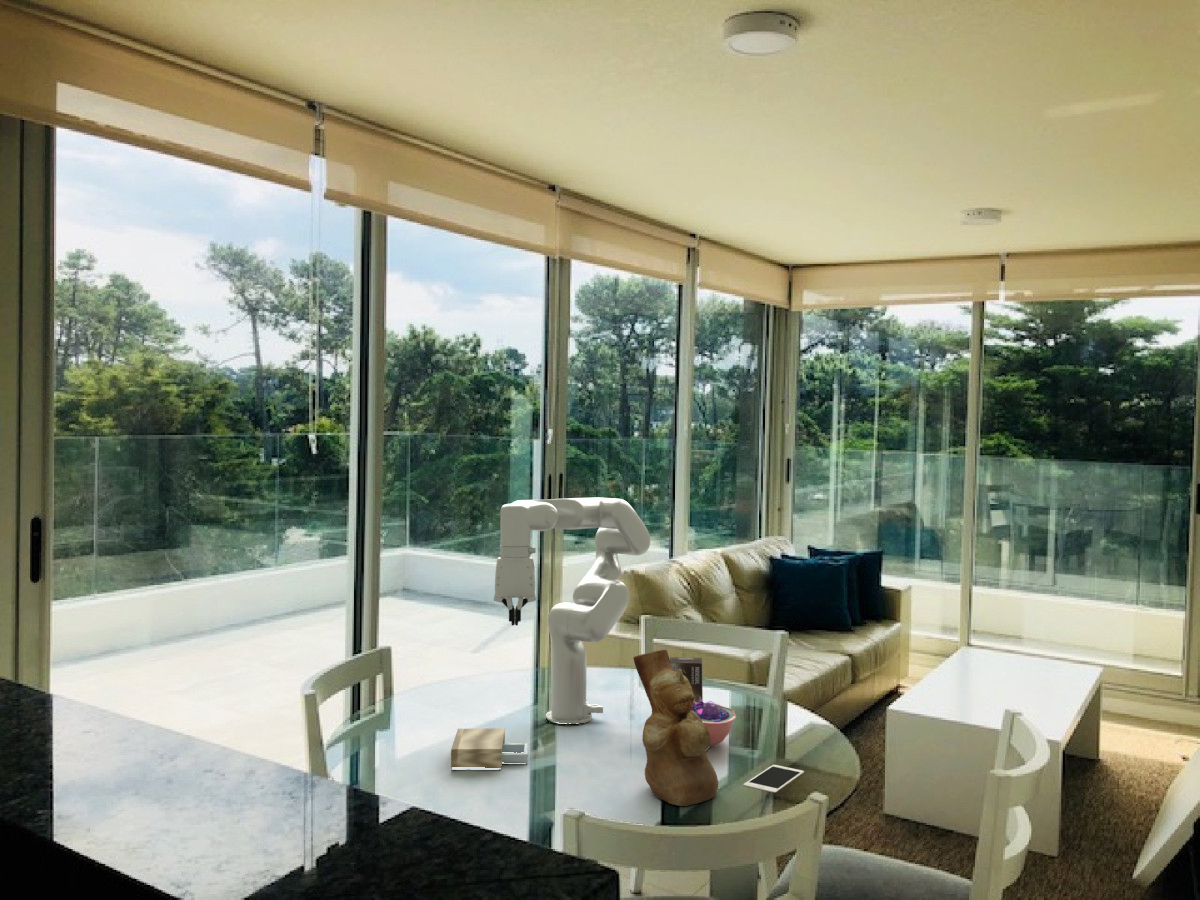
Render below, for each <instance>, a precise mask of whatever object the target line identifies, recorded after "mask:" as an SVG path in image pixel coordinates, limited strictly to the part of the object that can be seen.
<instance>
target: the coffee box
mask: <svg viewBox="0 0 1200 900" xmlns="http://www.w3.org/2000/svg"><path fill="white" fill-rule="evenodd" d="M669 659H670V663H671V665H672V668H673V670H674V671H675V672H677V670H678V669H681V670H682V672H683V675H684V676H685V677H686V678H687V679H688V681H689V683H690V685H691V687H692V691H693V694H694V701H693V702H696V703H698V702H699V700H701V701H702V702H704V700H703V698H704V696H703V691H704V690H703V658H702V657H680V656H679V657H678V656H677V657H675V656H674V657H671V656H669Z"/></svg>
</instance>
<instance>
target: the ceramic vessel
mask: <svg viewBox="0 0 1200 900" xmlns="http://www.w3.org/2000/svg"><path fill="white" fill-rule="evenodd" d="M632 659H633V662H634V666H635V669H636V672H637V674H638V676H639V677H638V678H639V679H640V681H641V684H642V686H643V689H644V691H645V694H646V698H647V699H648V701H649V704H650V707H651V714H650V716H649V717H647V719H646V721H645V722H644V724H643V725H644V726H643V730H642V735H641V736H642V737H641V738H642V743H643V744H642V745H643V747H644V748H645V752H646V763H645V768H644V779H645V781H646V783H647V784H648V786H649V788H650V789H651V791H652V794H653V795H654V797H657V798H658V799H660V800H662V801H665V802H666V803H668V804H671V805H674V806H675V805H676V806H680V807H686V806H691V805H695V804H699V803H702V802H707V801H709V800H710V799H713V798H714V797H715V796H716V794H717V791H718V789H719V779H718V774H717V772H716V770H715V768H714V766H713V765H712V763H711V760H710V759H709V757H708V755H707V753H706V752H707V750H708V749H710V747H709V746H710V734H709V731H708V729H707V727H706V726H705V725H704V724H703V722H702V720H701V719H700V717H699V716H698V715H697V714H696V713H695V712H694V711H692V710H691V709H692V708H693V701H694V694H693V691H692V687H691V685H690V683H689V681H688V679H687V678H686V677H685V676H684V675H683V672H682V670H681V669H678V670H677V672H675V671H674V670H673V668H672V665H671V663H670V655H669V653H668V650H667V649H666V648H664V649H659V650H654V651H651V652H650V651H649V652H646V653H642V654H638V655H635V656H634V657H632Z"/></svg>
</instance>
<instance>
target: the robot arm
mask: <svg viewBox="0 0 1200 900" xmlns="http://www.w3.org/2000/svg"><path fill="white" fill-rule="evenodd" d="M499 512H500V517H499V520H500V525H499V526H500V535H499V536H500V537H499V538H500V543H499V544H500V549H499V550H500V552H499V555H500V556H499V557H497V558H496V559H497V560H496V564H495V565H496V566H495V576H494V597H493V601H494V602H497V603H500V604H503V605H504V606H505V607H506V608H507V610H508V622H509V623H510V622H511V626H514V625H515V626H519V622H521V621H522V609H523V607H525V606H526V604H528V603H529V604H530V603H532V602H536V600H537V597H536V570H535V563H534V558H533V556H531V555H532V554H536V551H537V549H536V547H532V546H531V531H536V532H538V531H539V532H546V531H550V530H552V529H557V530H573V531H574V530H582V529H583V530H584V529H597V531H596V533H595V539H594V542H595V560H594V563H593V565H592V566H591V567H590V568H589V570H588V571H587V573H586V574H585V575H584V576H583V578H582V579H581V580H580V581H579V582H578V584H577V585H576V587H575V589H574V590H573V593H572V600H573V602H567V601H566V602H559V603H557V604H555V605H554V606H553V607H551V609H550V611H549V613H548V615H547V616H548V617H547V626H548V632H549V636H550V648H551V669H550V670H551V671H550V673H551V676H550V677H551V684H550V686H551V693H550V695H551V697H550V700H551V701H550V704H551V705H550V709H551V710H550V711H547V712H546V714H545V719H546V718H547V719H548V720H551V721H555V722H559V723H567V724H569V723H571V724H576V723H584V724H587V723H589V722H591V720H592V719H593V714H604V706H603V705H599V704H590V703H588V699H587V660H588V659H587V650H586V646H585V644H584V642H586V643H592V644H593V643H599V642H601V641H603V639H605V638H606V637H607V636H608V634H609V633H610V632H611V630H612V629H613V628H614V626H615V625H616V624H617V622H619V620H620V618H621V617H622V616H623V614H624V612H626V609H627V607H628V604H629V601H630V591H629V589H628V587H627V585H626V584H625V583H624V582H623V581H620V579H621V576H622V568H621V564H620V561H619V557H618V555H627V556H641V555H643V554H645V553H646V552H647V551H648V550H649V549H650V546H651V535H650V532H649V530H648V528H647V526H646V525H645V524H644V522H643V520H642V519H641V518H640V516H639V515H638V513H637V511H636V510H635V509H634V508H633V507H632V505H631V504H630V503H629V502H627V501H626V500H624V499H622V498H613V497H612V498H611V497H572V498H554V499H553V498H552V499H551V498H550V499H521V500H520V499H519V500H515V501H513V502H512V503H506V504H503V505H502V506H501V507H500V511H499ZM513 598H515V599H516V598H517V599H518V600H517V605H516V606H515V605H514V604H513ZM514 606H515V607H514Z"/></svg>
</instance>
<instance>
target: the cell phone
mask: <svg viewBox="0 0 1200 900" xmlns="http://www.w3.org/2000/svg"><path fill="white" fill-rule="evenodd" d="M804 773H805V771H804V770H801V769H798V768H797V769H796V768H792V767H788V766H787V767H786V766H783V765H778V764H772V765H771V766H769V767H767V768H766V769H764V770H763V771H761V772H759V773H758V774H756V775H755V776H754V777H752V778H751V779H749V780H747V781H746V782H744V783H743V784H742V785H743V786H744V787H747V788H752V789H757V790H761V791H766V792H769V793H773V794H774V793H775V794H776V793H777V792H779V791H780V790H781V789H783V788H785V787H786V786H787V785H788V784H790V783H792V782H793V781H794V780H796V779H797V778H798V777H800V776H801V775H803V774H804Z"/></svg>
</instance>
